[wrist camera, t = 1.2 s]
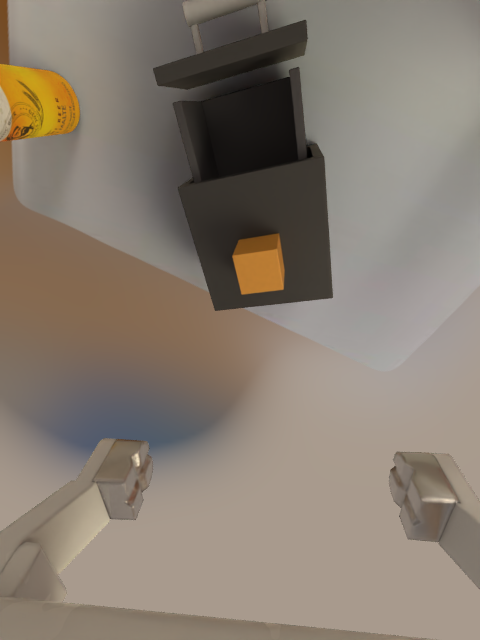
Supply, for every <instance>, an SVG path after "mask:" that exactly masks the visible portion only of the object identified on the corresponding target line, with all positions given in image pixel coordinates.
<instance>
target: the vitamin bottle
mask: <svg viewBox="0 0 480 640" xmlns="http://www.w3.org/2000/svg"><path fill="white" fill-rule="evenodd" d="M79 118H80V108H79V103H78V99H77V97H76V94H75V92H74V91H73V89H72V87H71V86H70V85H69V83H68V82H67V81H66V80H65V79H64V78H63V77H61V76H60V75H59V74H57V73H55V72H52V71H48V70H41V69H34V68H26V67H19V66H12V65H5V64H0V142H2V141H10V140H18V139H26V138H34V137H42V136H50V135H58V134H66V133H69V132H71V131H73V130H74V129H75V128H76V126H77V124H78V122H79Z"/></svg>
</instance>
